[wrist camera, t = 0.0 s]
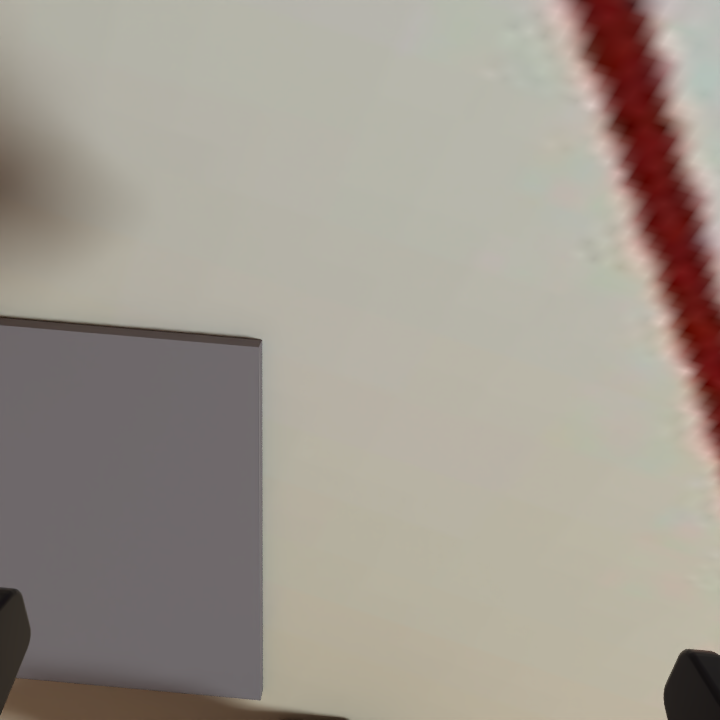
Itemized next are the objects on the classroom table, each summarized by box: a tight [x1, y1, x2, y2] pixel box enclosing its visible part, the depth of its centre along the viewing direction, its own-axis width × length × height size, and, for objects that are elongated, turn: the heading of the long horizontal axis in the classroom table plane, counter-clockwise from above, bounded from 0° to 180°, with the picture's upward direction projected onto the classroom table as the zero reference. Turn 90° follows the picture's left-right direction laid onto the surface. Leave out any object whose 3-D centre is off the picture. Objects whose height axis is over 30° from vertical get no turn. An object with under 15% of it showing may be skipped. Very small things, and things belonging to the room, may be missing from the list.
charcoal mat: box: [0, 318, 263, 700], centre depth 27 cm, size 20×16×1 cm
